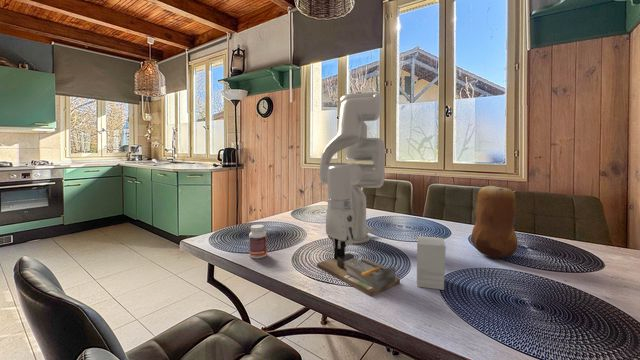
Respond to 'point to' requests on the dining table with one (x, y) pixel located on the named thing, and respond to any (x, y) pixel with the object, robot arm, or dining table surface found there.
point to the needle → (371, 271)
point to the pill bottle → (257, 242)
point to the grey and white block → (352, 262)
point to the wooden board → (366, 283)
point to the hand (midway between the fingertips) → (339, 258)
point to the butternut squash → (495, 222)
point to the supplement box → (430, 262)
